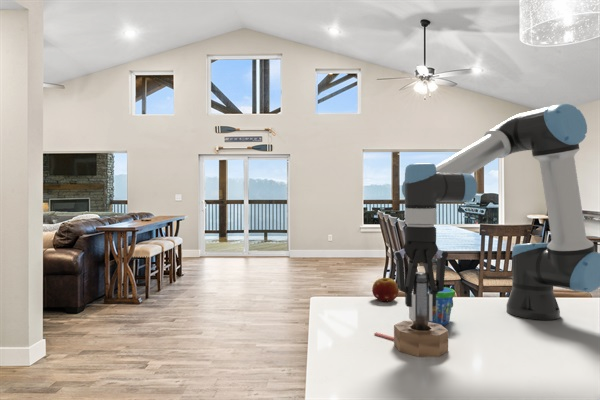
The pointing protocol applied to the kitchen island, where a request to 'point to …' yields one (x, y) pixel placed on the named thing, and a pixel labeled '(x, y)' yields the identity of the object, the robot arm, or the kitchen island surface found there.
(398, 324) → the bead
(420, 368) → the kitchen island surface
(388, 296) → the fruit
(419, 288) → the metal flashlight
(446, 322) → the snack cup
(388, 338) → the pink stick
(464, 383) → the kitchen island surface
